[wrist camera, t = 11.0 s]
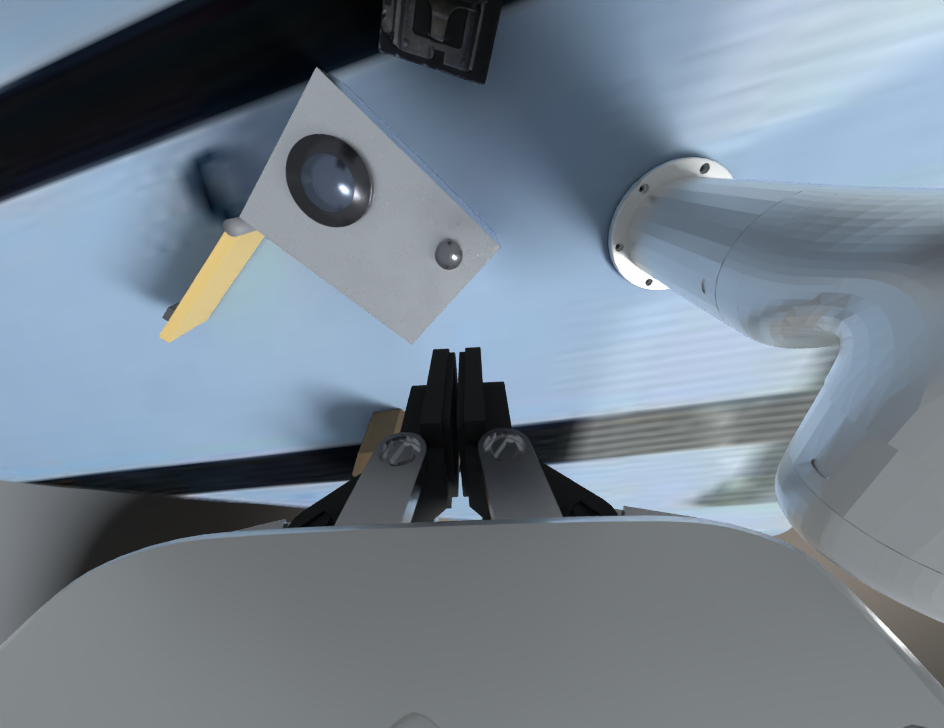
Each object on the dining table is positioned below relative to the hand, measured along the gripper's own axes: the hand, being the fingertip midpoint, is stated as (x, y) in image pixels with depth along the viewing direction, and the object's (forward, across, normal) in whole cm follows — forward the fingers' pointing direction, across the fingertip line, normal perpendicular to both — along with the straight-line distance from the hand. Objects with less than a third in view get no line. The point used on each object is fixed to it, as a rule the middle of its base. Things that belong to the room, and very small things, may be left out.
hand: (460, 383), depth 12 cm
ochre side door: (+27, +25, +1) cm, 37 cm away
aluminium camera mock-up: (+27, +8, -2) cm, 28 cm away
